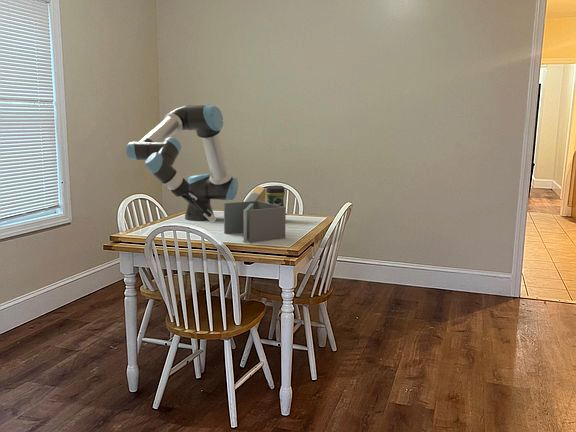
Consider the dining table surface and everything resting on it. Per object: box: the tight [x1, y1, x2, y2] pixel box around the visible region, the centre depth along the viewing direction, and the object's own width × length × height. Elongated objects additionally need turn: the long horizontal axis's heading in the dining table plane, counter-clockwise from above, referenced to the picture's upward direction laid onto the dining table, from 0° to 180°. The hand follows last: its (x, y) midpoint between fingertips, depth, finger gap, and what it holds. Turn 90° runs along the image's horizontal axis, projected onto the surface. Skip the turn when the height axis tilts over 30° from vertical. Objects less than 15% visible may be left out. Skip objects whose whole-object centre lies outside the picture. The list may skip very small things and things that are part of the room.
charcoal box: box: [223, 201, 287, 244], centre depth 248 cm, size 18×24×14 cm
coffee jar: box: [265, 184, 286, 207], centre depth 287 cm, size 10×8×19 cm
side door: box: [243, 204, 254, 243], centre depth 244 cm, size 1×21×14 cm, turn 176°
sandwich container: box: [244, 185, 266, 202], centre depth 308 cm, size 9×15×15 cm, turn 130°
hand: (214, 220), depth 238 cm, fingers closed
